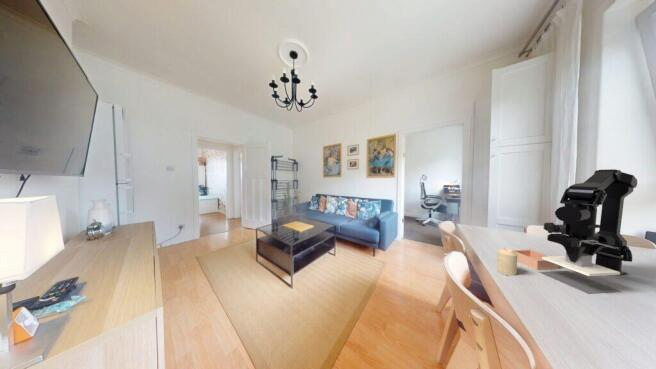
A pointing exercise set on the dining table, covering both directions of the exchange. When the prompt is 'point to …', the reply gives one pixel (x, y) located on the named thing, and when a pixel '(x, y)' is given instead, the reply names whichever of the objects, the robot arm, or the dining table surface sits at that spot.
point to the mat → (579, 282)
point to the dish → (534, 260)
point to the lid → (582, 265)
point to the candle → (507, 262)
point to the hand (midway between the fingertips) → (578, 261)
